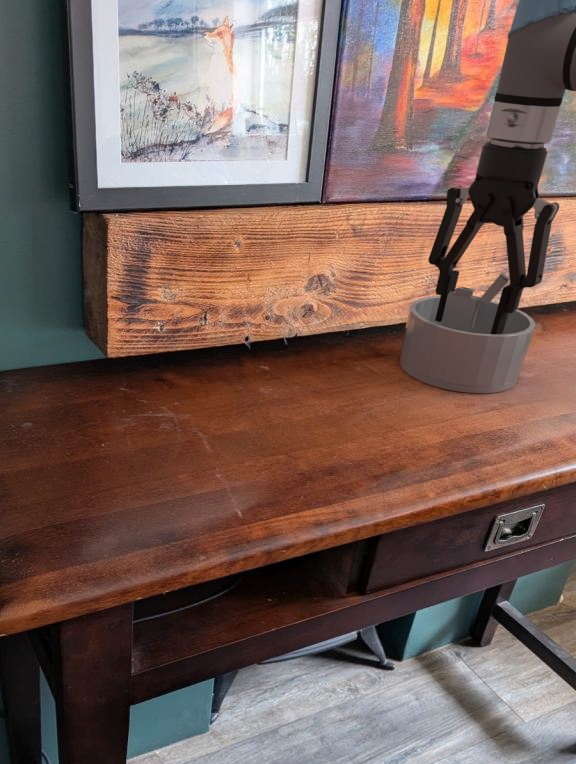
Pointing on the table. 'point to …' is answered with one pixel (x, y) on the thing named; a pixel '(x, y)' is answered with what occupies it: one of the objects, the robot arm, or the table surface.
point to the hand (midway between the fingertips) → (468, 326)
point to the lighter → (468, 304)
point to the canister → (465, 349)
